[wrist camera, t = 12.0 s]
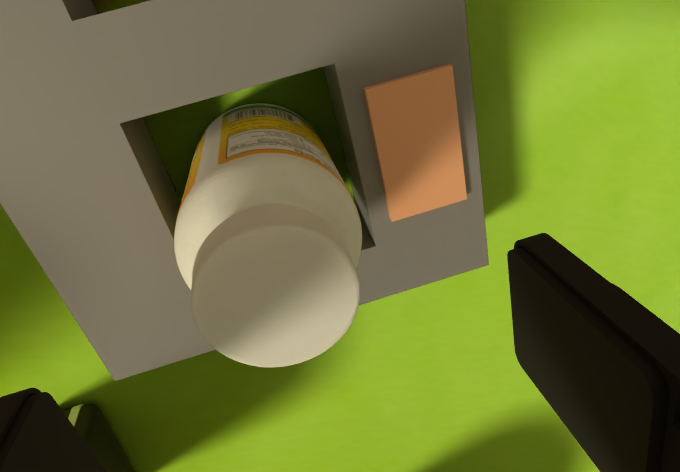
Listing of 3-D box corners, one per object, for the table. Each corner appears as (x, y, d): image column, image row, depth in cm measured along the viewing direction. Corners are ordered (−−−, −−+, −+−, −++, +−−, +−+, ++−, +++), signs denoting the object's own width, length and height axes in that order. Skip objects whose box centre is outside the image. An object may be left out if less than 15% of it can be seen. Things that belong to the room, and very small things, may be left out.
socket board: (369, -503, 12) (411, -653, 9) (460, 233, 23) (492, 268, 20) (-281, -368, 11) (-457, -489, 8) (129, 334, 22) (113, 386, 19)
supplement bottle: (269, 71, 18) (300, 144, 10) (351, 175, 21) (430, 304, 12) (162, 160, 19) (103, 299, 10) (253, 250, 21) (266, 420, 13)
